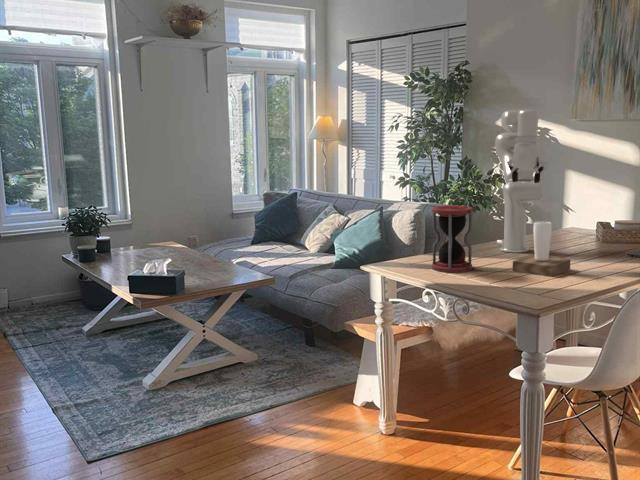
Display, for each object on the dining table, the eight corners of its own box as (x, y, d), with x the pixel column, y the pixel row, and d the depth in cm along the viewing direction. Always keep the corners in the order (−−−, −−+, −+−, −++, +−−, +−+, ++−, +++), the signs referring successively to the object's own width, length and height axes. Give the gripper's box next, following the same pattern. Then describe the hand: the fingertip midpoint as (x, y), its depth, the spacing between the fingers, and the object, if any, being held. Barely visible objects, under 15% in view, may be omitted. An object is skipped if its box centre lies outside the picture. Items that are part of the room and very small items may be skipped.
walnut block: (512, 270, 248) (512, 260, 248) (532, 264, 259) (532, 254, 259) (551, 276, 237) (551, 266, 236) (570, 269, 248) (570, 259, 247)
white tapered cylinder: (550, 258, 249) (551, 221, 247) (550, 262, 243) (551, 223, 241) (532, 258, 252) (533, 221, 249) (532, 261, 245) (533, 223, 243)
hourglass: (470, 273, 246) (471, 210, 241) (428, 271, 251) (429, 209, 246) (473, 265, 261) (474, 205, 256) (434, 263, 266) (435, 204, 261)
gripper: (503, 141, 261) (502, 182, 264) (542, 140, 249) (541, 183, 252) (512, 140, 266) (511, 180, 269) (551, 140, 254) (549, 182, 257)
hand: (525, 182), depth 260 cm, fingers open, 9 cm apart
